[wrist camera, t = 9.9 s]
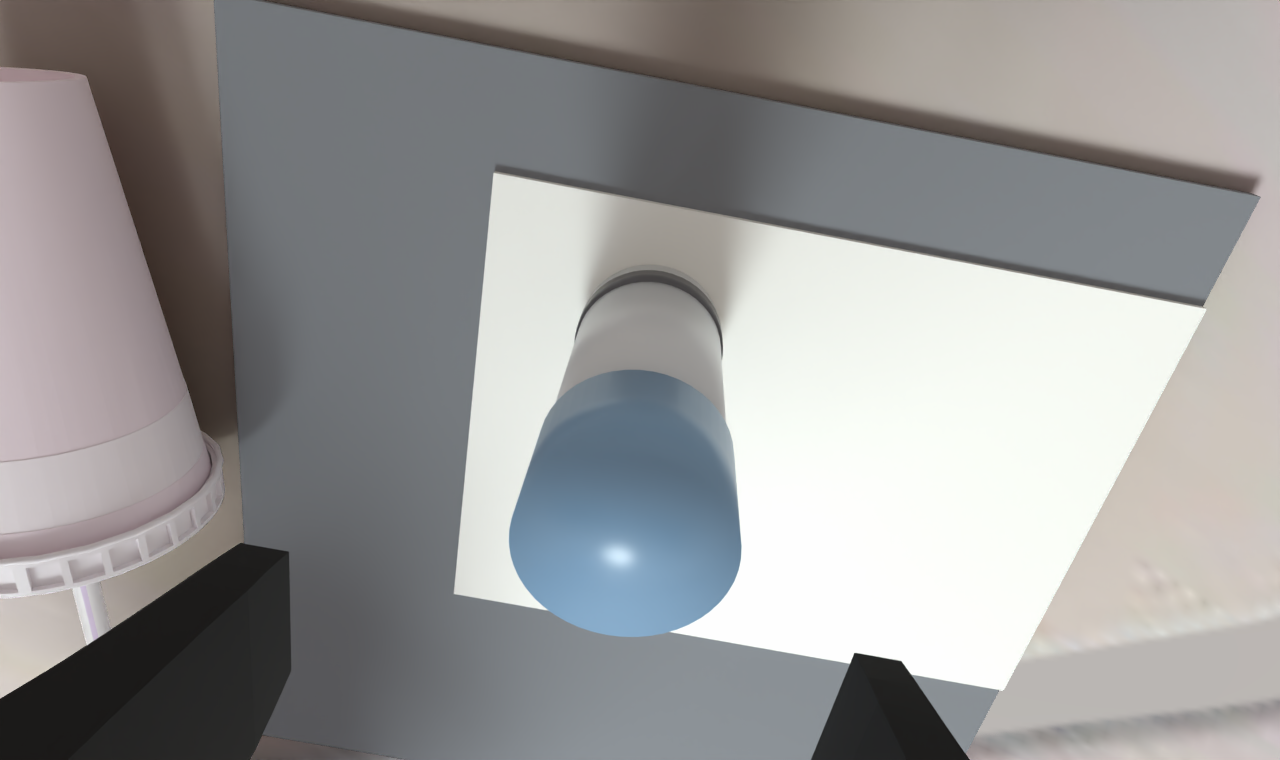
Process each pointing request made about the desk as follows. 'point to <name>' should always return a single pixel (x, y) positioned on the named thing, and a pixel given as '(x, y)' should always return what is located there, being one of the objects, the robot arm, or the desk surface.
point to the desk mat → (447, 345)
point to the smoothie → (84, 365)
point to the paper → (839, 421)
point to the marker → (634, 466)
